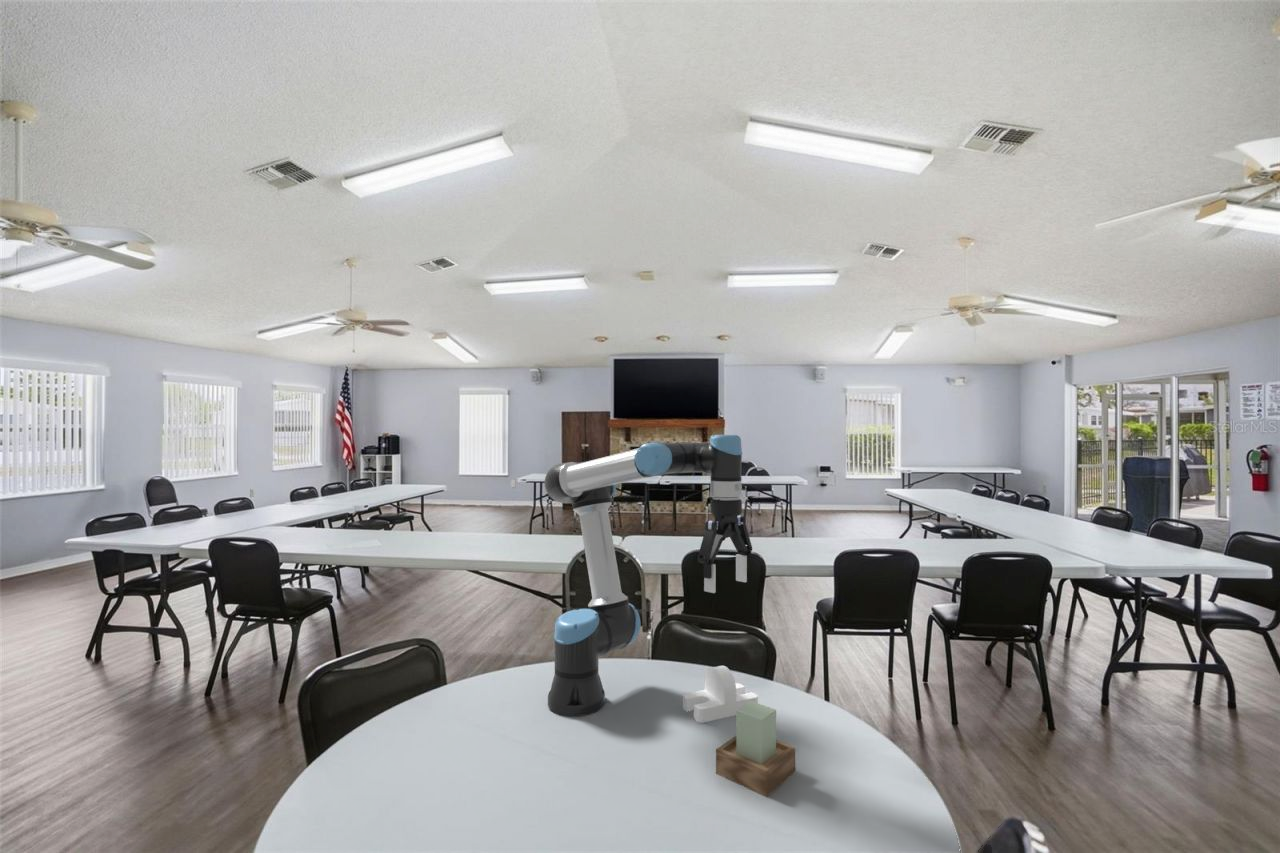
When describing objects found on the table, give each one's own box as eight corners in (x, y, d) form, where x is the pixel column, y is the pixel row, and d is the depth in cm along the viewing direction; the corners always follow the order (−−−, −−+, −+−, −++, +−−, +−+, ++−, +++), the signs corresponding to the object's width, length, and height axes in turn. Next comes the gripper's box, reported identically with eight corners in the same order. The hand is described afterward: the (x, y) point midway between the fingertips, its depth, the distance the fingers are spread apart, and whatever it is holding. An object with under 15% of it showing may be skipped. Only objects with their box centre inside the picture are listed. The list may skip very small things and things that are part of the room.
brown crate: (716, 773, 122) (716, 749, 122) (746, 750, 131) (746, 728, 131) (766, 796, 114) (766, 771, 114) (795, 771, 123) (795, 747, 123)
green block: (736, 753, 122) (736, 710, 122) (751, 742, 126) (751, 701, 127) (761, 764, 118) (761, 719, 118) (776, 752, 122) (776, 709, 123)
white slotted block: (681, 708, 152) (681, 666, 152) (738, 695, 159) (738, 656, 160) (699, 724, 143) (699, 680, 143) (759, 710, 151) (759, 668, 151)
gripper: (709, 503, 128) (709, 599, 128) (765, 495, 147) (766, 579, 146) (682, 501, 133) (682, 593, 133) (740, 493, 152) (740, 575, 151)
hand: (726, 586), depth 140 cm, fingers open, 13 cm apart
